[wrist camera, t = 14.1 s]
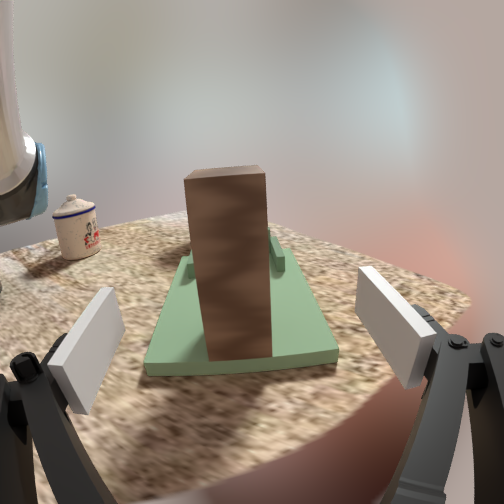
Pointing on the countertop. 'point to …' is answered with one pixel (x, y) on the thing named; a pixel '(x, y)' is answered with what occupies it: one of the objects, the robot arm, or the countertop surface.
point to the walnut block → (231, 260)
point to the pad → (282, 318)
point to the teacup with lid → (77, 229)
